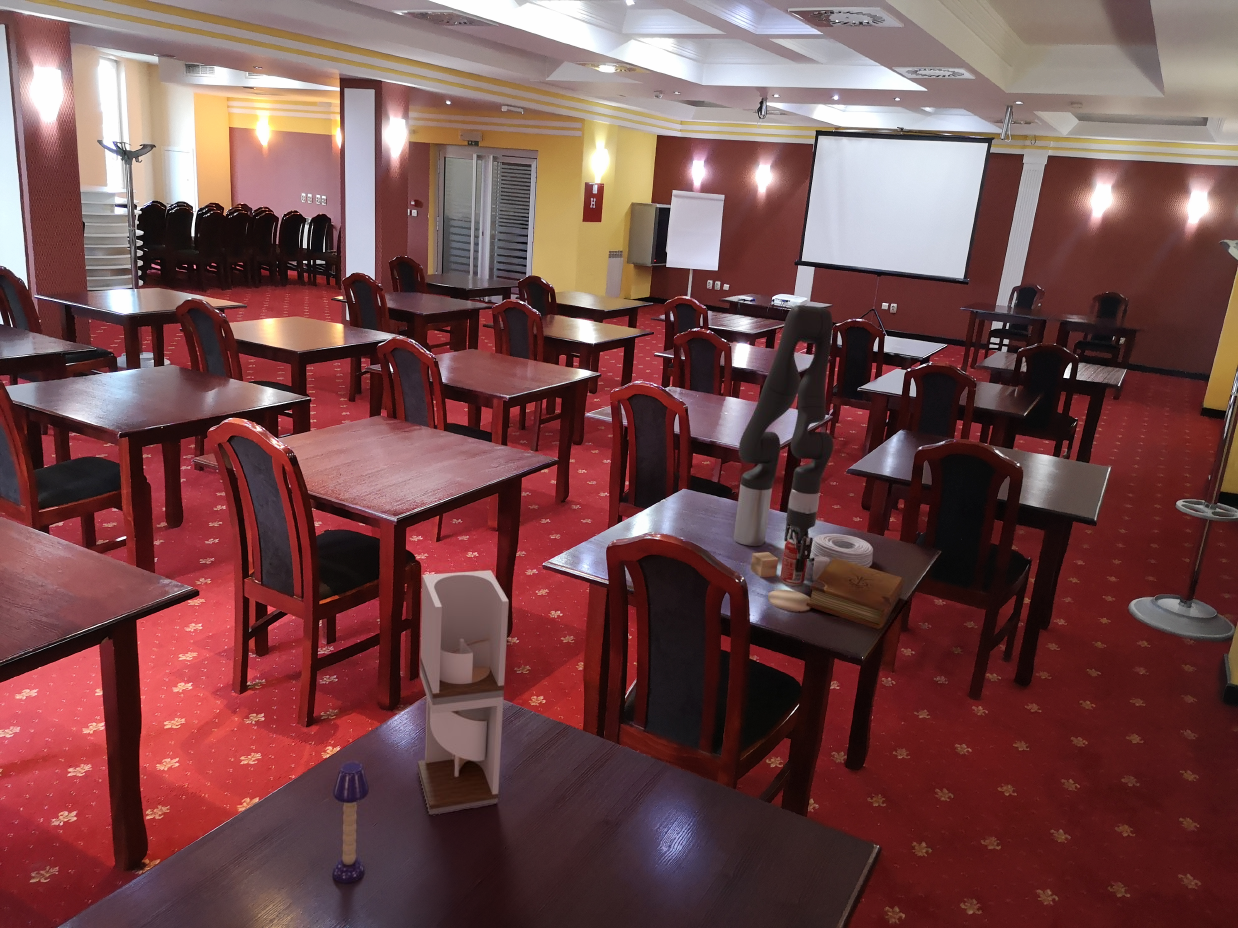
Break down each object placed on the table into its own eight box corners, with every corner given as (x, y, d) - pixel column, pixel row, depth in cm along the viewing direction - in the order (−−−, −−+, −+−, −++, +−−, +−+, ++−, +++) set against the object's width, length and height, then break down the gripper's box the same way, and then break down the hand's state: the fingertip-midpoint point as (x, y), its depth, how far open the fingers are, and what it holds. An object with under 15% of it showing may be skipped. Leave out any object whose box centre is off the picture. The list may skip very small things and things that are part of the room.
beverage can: (802, 579, 240) (808, 537, 236) (804, 588, 234) (811, 545, 230) (778, 576, 240) (784, 534, 237) (780, 585, 234) (786, 543, 231)
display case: (417, 771, 147) (422, 574, 137) (481, 762, 151) (490, 570, 141) (429, 815, 137) (435, 606, 127) (497, 804, 140) (508, 600, 131)
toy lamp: (337, 858, 126) (336, 756, 122) (370, 858, 127) (371, 757, 122) (329, 883, 122) (328, 778, 117) (364, 883, 122) (365, 778, 118)
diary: (881, 630, 213) (886, 609, 212) (806, 606, 221) (810, 585, 220) (900, 597, 233) (905, 577, 231) (830, 576, 241) (834, 556, 239)
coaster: (762, 592, 229) (763, 589, 229) (803, 592, 231) (803, 590, 231) (775, 611, 219) (776, 608, 218) (818, 611, 220) (819, 608, 220)
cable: (805, 565, 250) (808, 545, 249) (812, 545, 267) (815, 526, 265) (869, 577, 246) (872, 557, 244) (873, 556, 262) (876, 537, 260)
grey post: (810, 576, 242) (813, 555, 240) (824, 576, 242) (827, 556, 241) (813, 582, 238) (816, 561, 237) (828, 583, 238) (831, 562, 237)
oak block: (750, 570, 243) (752, 553, 241) (766, 568, 245) (768, 552, 243) (760, 577, 238) (762, 560, 237) (775, 576, 240) (778, 559, 239)
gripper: (780, 497, 237) (772, 555, 242) (798, 515, 224) (789, 576, 228) (807, 498, 238) (798, 555, 243) (826, 516, 225) (817, 577, 229)
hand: (794, 565), depth 235 cm, fingers open, 7 cm apart
